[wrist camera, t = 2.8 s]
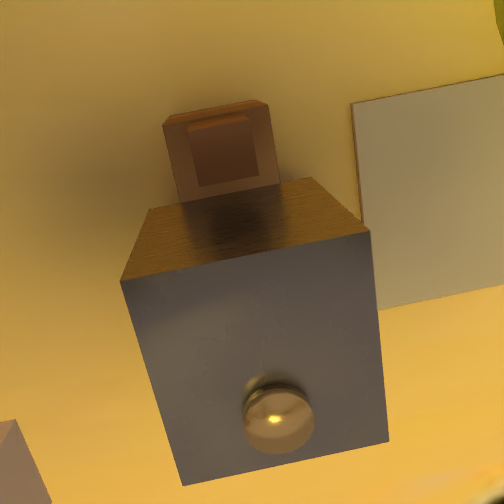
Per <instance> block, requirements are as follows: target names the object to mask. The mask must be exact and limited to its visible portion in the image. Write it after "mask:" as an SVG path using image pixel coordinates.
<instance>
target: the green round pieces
mask: <svg viewBox="0 0 504 504" xmlns="http://www.w3.org/2000/svg"><path fill="white" fill-rule="evenodd" d="M494 8H495V16H496V23H497V26H498V29H499V32H500V35H501V38H502V41H503V44H504V0H494Z"/></svg>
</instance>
